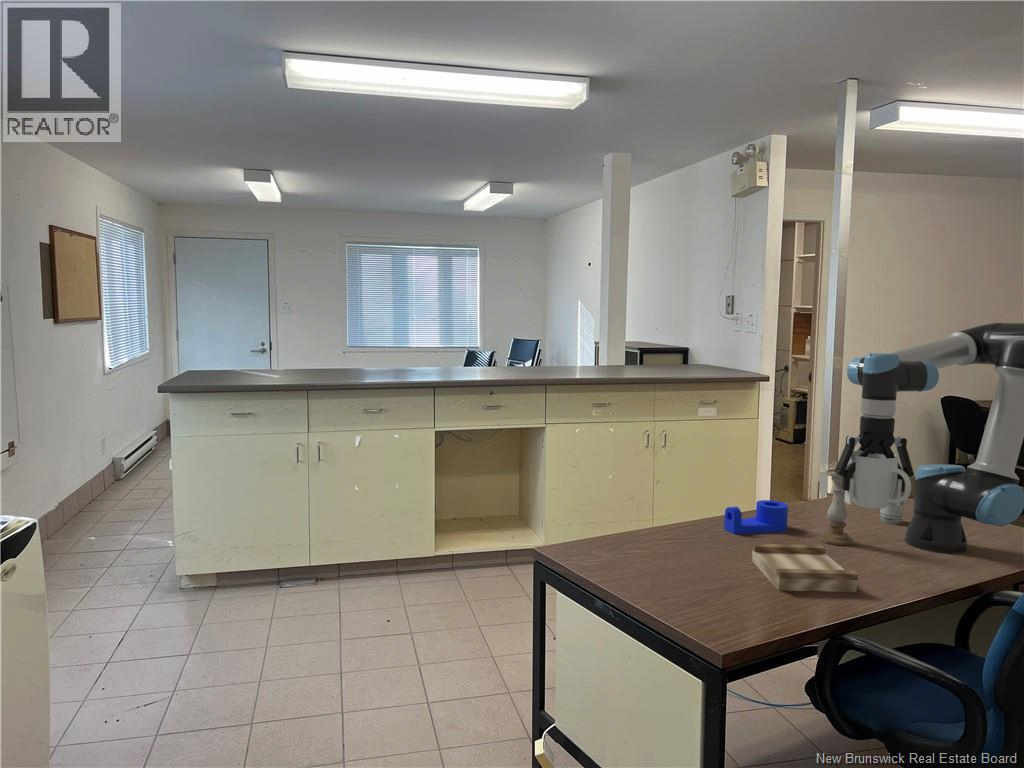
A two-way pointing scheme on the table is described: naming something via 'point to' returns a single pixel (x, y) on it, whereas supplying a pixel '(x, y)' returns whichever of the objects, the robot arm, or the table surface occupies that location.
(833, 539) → the candle holder
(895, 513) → the camera lens
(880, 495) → the mug
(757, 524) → the bracket
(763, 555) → the wooden tray
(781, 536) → the table surface
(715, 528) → the table surface
